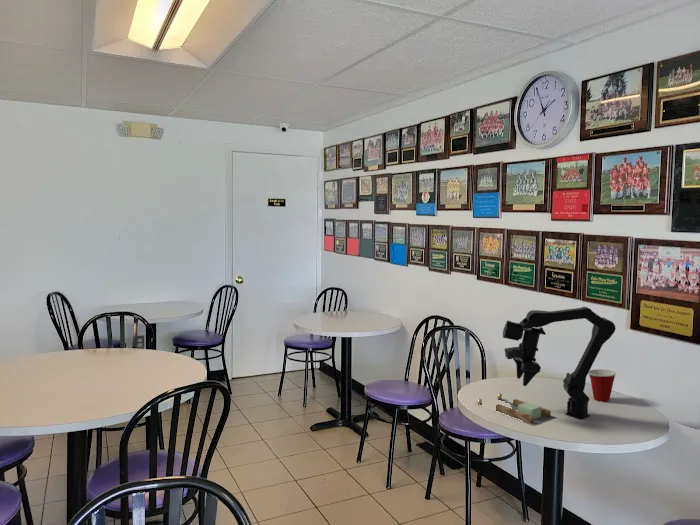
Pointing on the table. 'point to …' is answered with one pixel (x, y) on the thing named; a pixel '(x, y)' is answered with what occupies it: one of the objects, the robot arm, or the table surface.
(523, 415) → the walnut channel
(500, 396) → the brass pegs
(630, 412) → the table surface
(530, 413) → the sage block
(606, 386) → the plastic cup
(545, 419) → the charcoal runway
